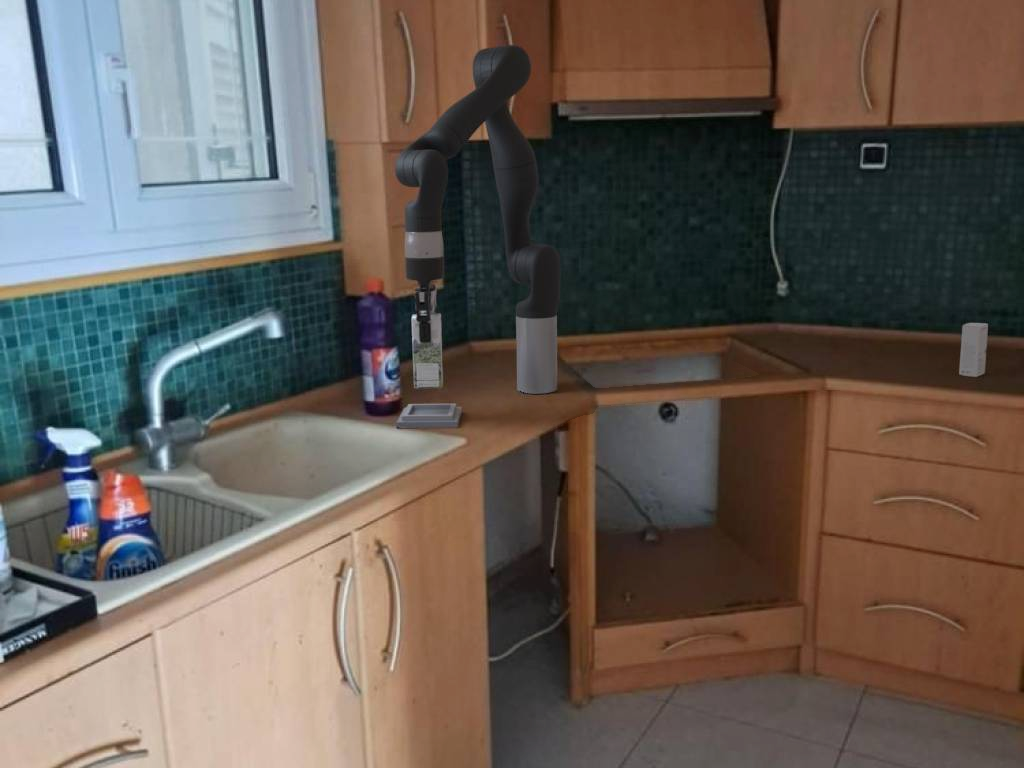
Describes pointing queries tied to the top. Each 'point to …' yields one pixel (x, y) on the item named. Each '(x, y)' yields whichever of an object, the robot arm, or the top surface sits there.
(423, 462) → the top surface
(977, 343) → the skincare box
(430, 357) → the syrup box
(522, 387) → the robot arm
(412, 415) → the base plate
